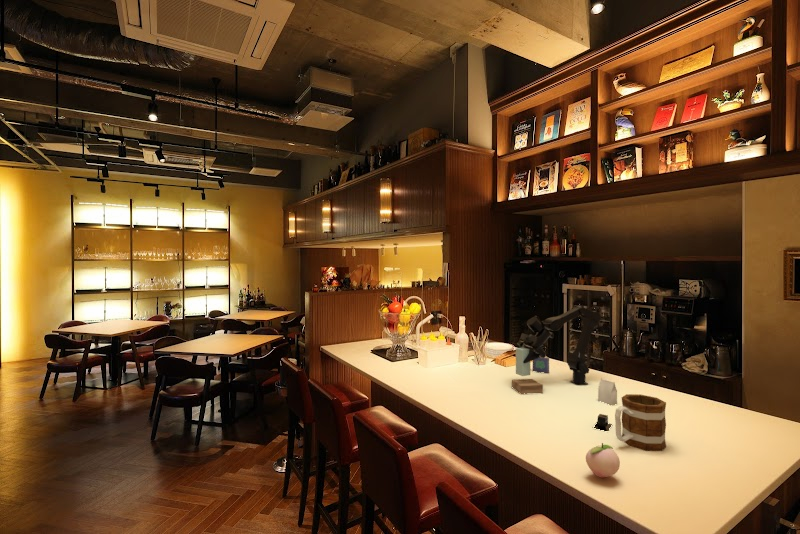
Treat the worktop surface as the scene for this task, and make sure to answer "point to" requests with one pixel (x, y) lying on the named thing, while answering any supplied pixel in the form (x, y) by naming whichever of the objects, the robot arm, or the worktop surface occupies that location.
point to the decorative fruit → (603, 460)
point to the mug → (641, 422)
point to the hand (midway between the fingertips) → (520, 361)
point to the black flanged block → (602, 423)
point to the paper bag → (607, 392)
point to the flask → (541, 365)
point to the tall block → (522, 367)
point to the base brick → (527, 386)
